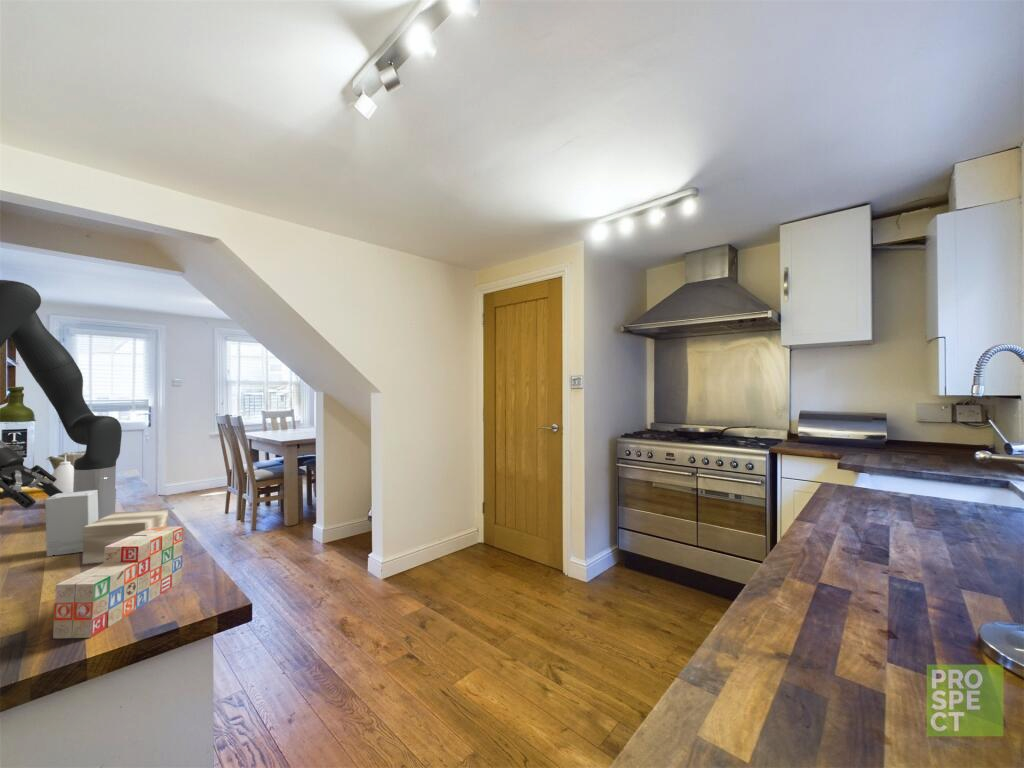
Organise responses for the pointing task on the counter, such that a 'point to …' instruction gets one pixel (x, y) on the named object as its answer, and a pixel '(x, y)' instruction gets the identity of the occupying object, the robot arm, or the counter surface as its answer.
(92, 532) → the riser block
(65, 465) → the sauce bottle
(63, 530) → the skincare box
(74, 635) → the stack of blocks
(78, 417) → the robot arm
